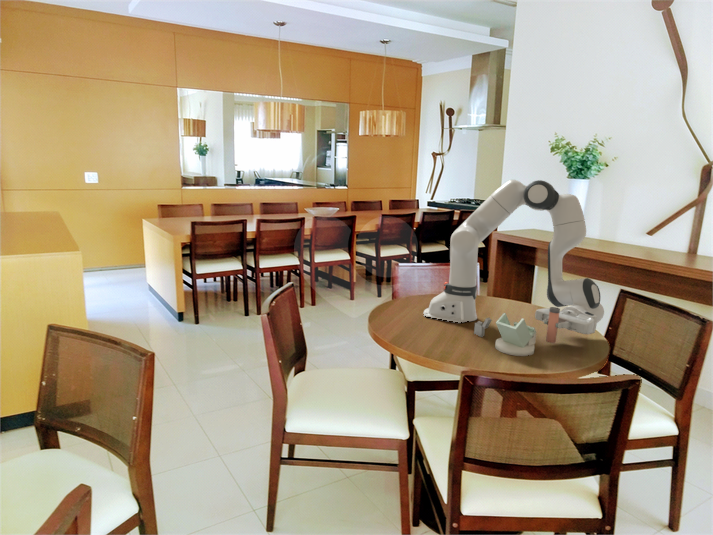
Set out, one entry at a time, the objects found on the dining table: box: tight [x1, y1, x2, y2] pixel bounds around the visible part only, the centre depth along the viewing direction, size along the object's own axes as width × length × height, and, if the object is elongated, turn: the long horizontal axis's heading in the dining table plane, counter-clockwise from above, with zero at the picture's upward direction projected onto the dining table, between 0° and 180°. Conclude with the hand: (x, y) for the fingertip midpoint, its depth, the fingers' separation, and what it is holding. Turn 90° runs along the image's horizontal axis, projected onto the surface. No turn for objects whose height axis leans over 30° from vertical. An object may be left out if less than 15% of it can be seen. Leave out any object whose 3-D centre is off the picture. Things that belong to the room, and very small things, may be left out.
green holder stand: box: [494, 312, 537, 357], centre depth 167 cm, size 13×13×12 cm
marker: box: [545, 306, 561, 344], centre depth 168 cm, size 3×3×12 cm
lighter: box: [473, 317, 493, 338], centre depth 180 cm, size 7×2×8 cm, turn 27°
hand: (551, 323), depth 167 cm, fingers closed on marker, 3 cm apart
